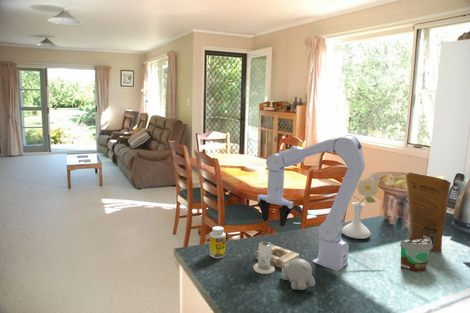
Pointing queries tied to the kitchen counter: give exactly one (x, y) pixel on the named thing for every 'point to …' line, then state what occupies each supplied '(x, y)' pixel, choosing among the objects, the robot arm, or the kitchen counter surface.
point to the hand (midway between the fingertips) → (273, 222)
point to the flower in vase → (356, 227)
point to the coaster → (263, 270)
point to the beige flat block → (281, 256)
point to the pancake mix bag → (427, 207)
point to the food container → (415, 254)
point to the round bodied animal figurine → (298, 274)
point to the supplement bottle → (217, 242)
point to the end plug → (265, 255)
